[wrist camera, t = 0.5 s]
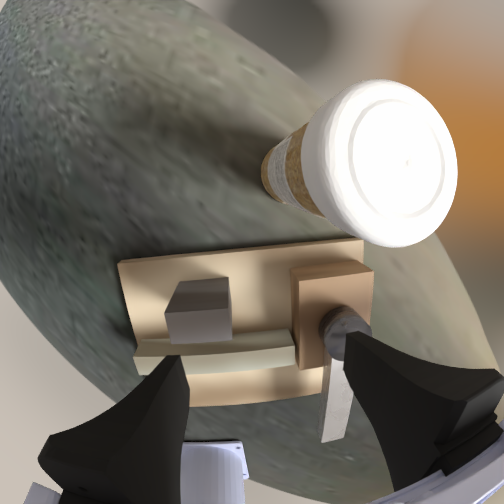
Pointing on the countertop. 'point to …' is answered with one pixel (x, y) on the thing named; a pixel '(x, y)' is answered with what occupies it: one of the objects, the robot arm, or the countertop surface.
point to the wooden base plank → (244, 315)
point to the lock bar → (336, 371)
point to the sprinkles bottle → (369, 164)
